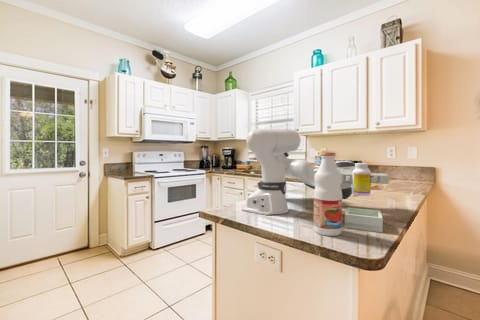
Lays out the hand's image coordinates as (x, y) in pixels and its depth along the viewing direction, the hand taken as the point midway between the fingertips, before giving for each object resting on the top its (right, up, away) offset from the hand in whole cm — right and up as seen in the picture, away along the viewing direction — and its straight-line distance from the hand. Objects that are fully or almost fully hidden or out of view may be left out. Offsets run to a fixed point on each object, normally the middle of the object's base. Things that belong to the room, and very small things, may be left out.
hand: (361, 179), depth 94 cm
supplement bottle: (+1, -6, +1) cm, 6 cm away
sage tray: (-2, -17, -5) cm, 18 cm away
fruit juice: (-18, -18, -11) cm, 28 cm away
